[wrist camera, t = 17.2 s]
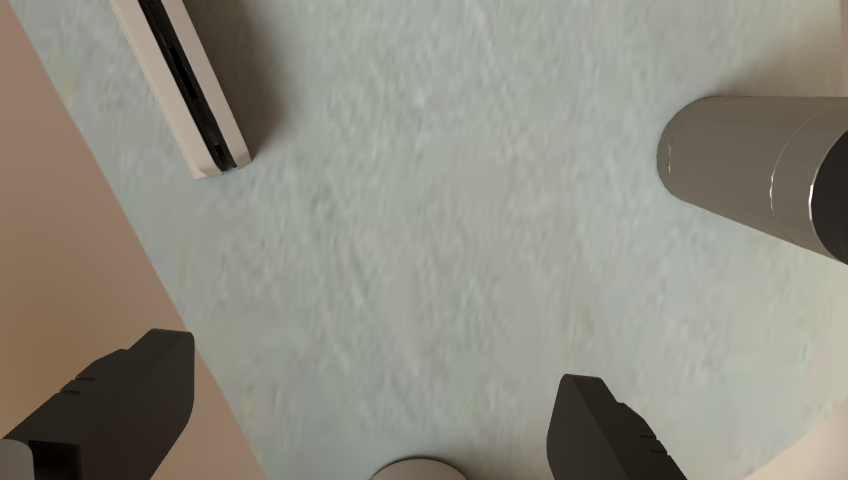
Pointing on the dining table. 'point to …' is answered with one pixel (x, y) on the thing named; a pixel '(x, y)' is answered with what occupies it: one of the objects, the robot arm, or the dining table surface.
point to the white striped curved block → (183, 84)
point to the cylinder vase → (419, 471)
